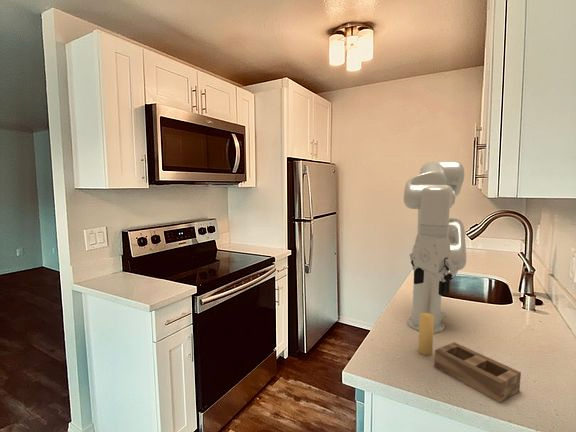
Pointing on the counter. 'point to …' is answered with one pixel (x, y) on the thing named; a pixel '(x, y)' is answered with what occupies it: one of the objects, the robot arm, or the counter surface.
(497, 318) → the counter surface
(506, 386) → the socket block
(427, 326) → the peg
